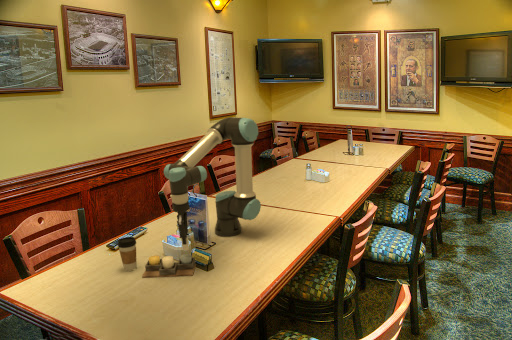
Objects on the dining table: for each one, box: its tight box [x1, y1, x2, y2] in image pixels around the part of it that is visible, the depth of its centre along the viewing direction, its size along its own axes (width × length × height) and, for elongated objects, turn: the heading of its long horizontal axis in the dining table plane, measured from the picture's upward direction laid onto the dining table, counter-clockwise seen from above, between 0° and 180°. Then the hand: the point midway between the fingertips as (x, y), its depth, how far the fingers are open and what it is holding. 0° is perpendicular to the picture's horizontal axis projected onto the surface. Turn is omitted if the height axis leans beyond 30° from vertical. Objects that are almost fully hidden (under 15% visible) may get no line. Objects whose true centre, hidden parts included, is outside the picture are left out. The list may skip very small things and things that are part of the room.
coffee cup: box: [117, 236, 138, 272], centre depth 209 cm, size 8×8×15 cm
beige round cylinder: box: [161, 255, 174, 269], centre depth 203 cm, size 5×5×4 cm
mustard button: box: [148, 255, 161, 265], centre depth 208 cm, size 5×5×4 cm
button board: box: [141, 256, 197, 279], centre depth 206 cm, size 23×13×3 cm, turn 89°
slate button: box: [180, 253, 192, 264], centre depth 207 cm, size 5×5×4 cm
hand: (185, 249), depth 206 cm, fingers closed
